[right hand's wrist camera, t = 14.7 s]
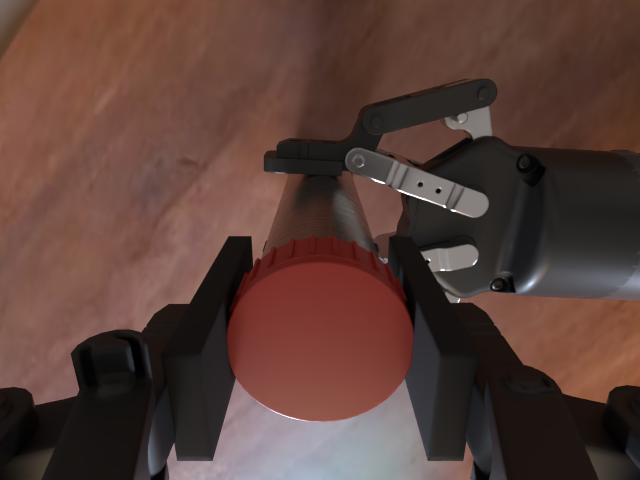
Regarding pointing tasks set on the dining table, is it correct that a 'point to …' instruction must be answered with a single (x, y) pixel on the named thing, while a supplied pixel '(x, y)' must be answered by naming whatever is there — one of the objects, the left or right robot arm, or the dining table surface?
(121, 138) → the dining table surface
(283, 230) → the brown tall cylinder
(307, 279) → the lid
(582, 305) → the dining table surface
